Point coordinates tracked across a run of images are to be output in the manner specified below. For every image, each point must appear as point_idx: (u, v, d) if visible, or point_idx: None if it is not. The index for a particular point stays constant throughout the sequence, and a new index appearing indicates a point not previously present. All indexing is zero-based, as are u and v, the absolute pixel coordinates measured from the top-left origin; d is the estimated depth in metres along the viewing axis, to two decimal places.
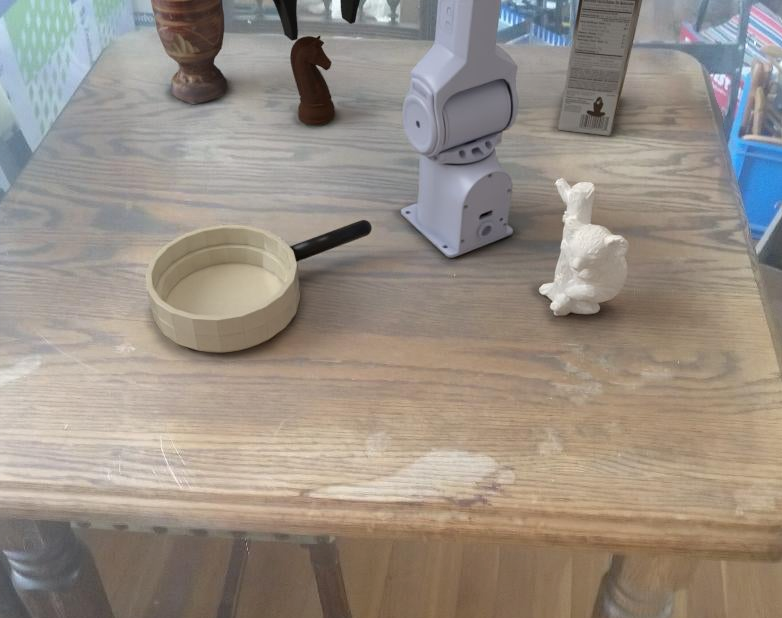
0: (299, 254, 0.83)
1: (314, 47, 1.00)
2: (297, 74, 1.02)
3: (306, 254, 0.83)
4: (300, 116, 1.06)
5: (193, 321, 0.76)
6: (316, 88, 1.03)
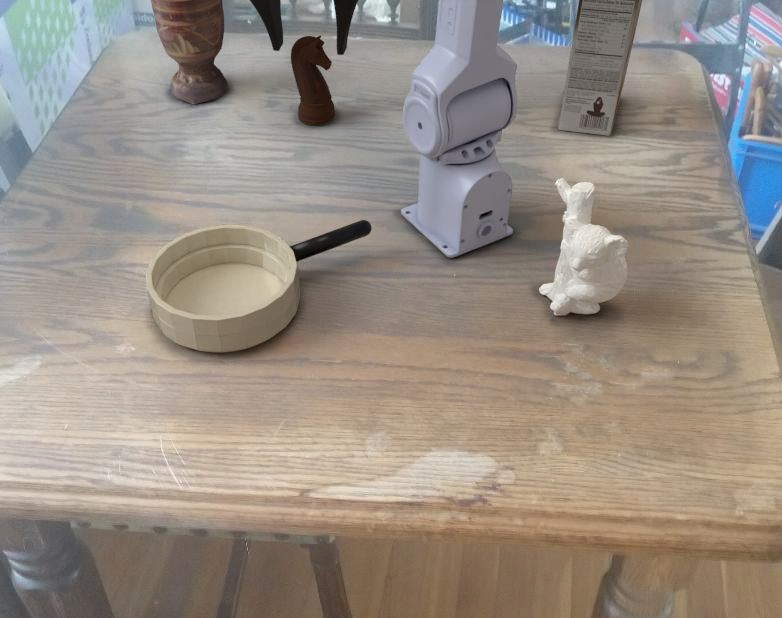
0: (299, 254, 0.83)
1: (314, 47, 1.00)
2: (297, 74, 1.02)
3: (306, 254, 0.83)
4: (300, 116, 1.06)
5: (193, 321, 0.76)
6: (317, 88, 1.03)
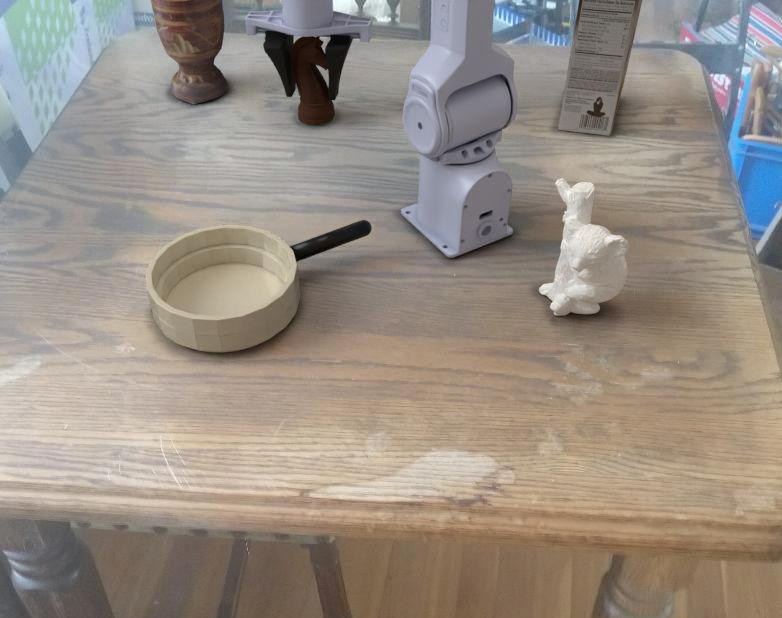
0: (299, 254, 0.83)
1: (313, 47, 1.00)
2: (297, 74, 1.02)
3: (306, 254, 0.83)
4: (300, 116, 1.06)
5: (193, 321, 0.76)
6: (316, 88, 1.03)
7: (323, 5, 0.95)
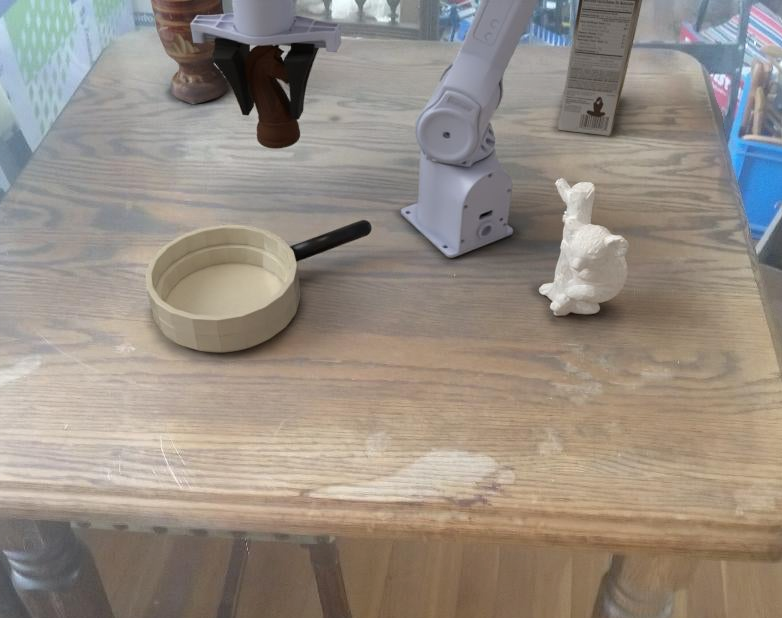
0: (299, 254, 0.83)
1: (272, 57, 0.84)
2: (253, 88, 0.87)
3: (306, 254, 0.83)
4: (259, 137, 0.90)
5: (193, 321, 0.76)
6: (276, 105, 0.87)
7: (280, 8, 0.79)
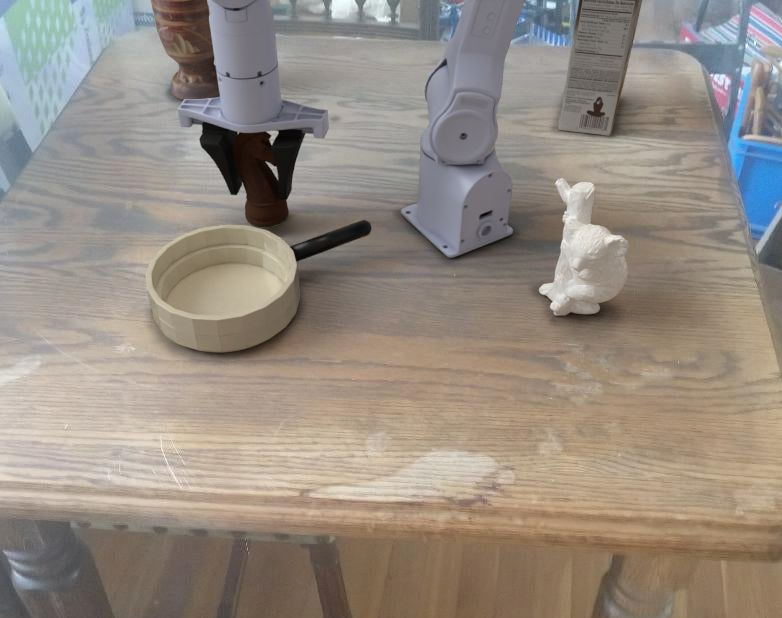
0: (299, 254, 0.83)
1: (259, 141, 0.84)
2: (241, 170, 0.87)
3: (306, 254, 0.83)
4: (247, 216, 0.90)
5: (193, 321, 0.76)
6: (264, 186, 0.87)
7: (267, 97, 0.79)
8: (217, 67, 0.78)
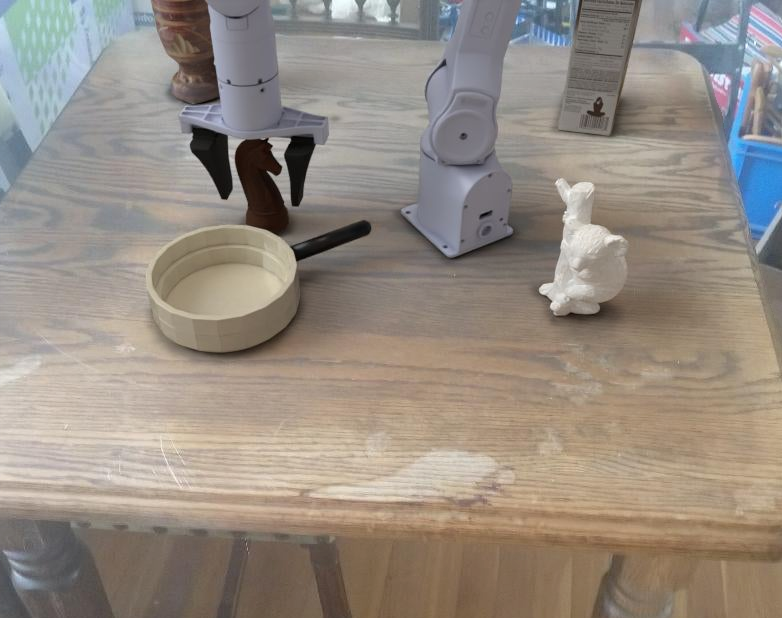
0: (299, 254, 0.83)
1: (261, 151, 0.85)
2: (243, 179, 0.88)
3: (306, 254, 0.83)
4: (248, 224, 0.91)
5: (193, 321, 0.76)
6: (266, 195, 0.88)
7: (268, 104, 0.80)
8: (218, 74, 0.78)
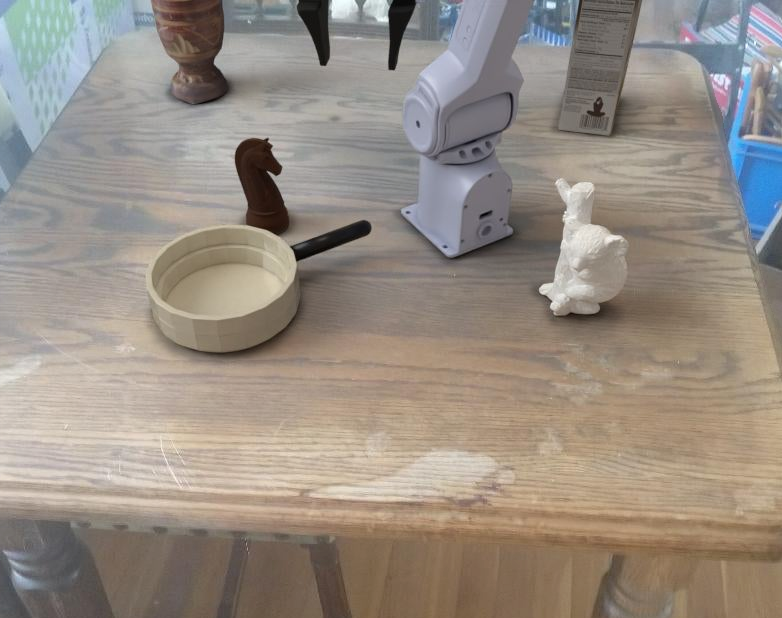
0: (299, 254, 0.83)
1: (261, 151, 0.85)
2: (243, 179, 0.88)
3: (306, 254, 0.83)
4: (248, 224, 0.91)
5: (193, 321, 0.76)
6: (266, 195, 0.88)
7: None
8: None
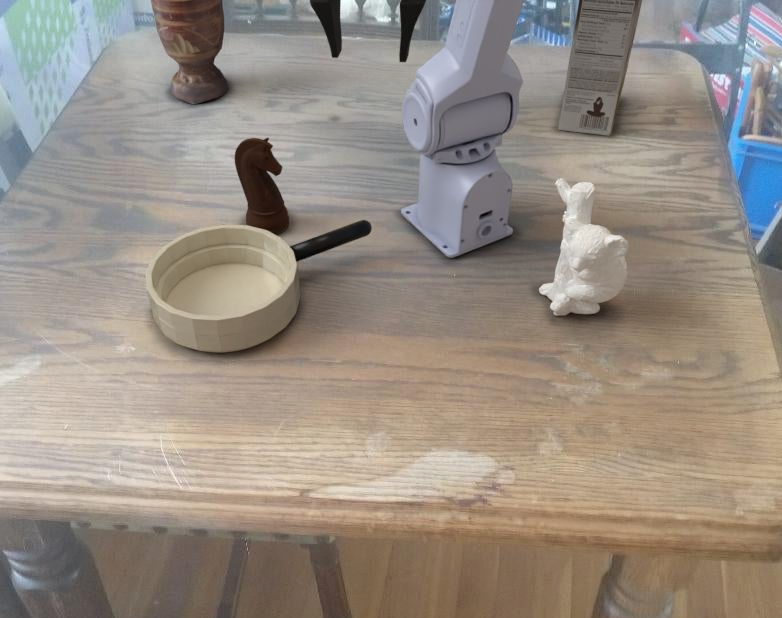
0: (299, 254, 0.83)
1: (261, 151, 0.85)
2: (243, 179, 0.88)
3: (306, 254, 0.83)
4: (248, 224, 0.91)
5: (193, 321, 0.76)
6: (266, 195, 0.88)
7: None
8: None
